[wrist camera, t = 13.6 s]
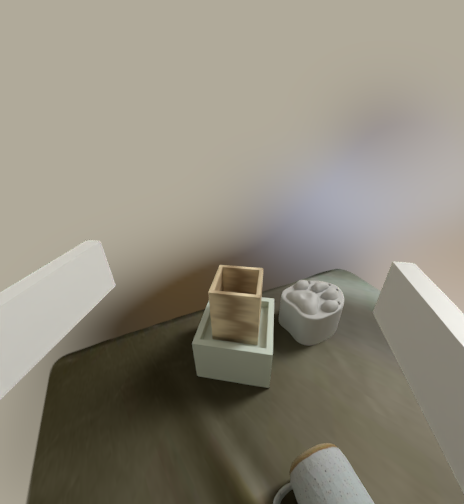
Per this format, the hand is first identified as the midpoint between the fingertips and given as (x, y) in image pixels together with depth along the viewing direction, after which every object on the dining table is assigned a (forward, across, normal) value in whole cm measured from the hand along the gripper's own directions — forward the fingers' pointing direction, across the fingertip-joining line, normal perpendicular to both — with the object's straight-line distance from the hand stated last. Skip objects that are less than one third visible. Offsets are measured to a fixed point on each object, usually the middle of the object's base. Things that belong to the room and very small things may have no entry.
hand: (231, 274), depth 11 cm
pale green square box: (+20, -3, -32) cm, 38 cm away
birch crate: (+20, -3, -25) cm, 32 cm away
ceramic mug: (0, +9, -32) cm, 34 cm away
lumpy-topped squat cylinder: (+30, +12, -32) cm, 45 cm away
